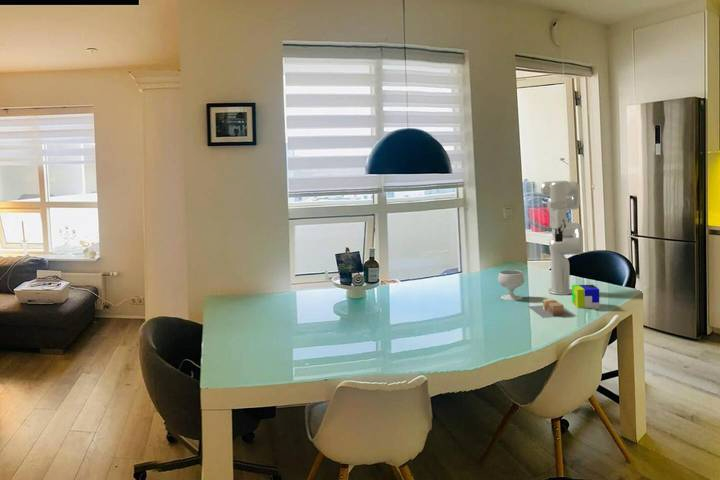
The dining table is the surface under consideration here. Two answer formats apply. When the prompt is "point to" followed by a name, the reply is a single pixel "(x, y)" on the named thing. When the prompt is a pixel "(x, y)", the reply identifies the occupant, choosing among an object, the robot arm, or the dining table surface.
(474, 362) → the dining table surface
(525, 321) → the dining table surface
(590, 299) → the puzzle toy
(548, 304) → the walnut block
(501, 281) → the chalice
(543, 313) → the rubber mat
